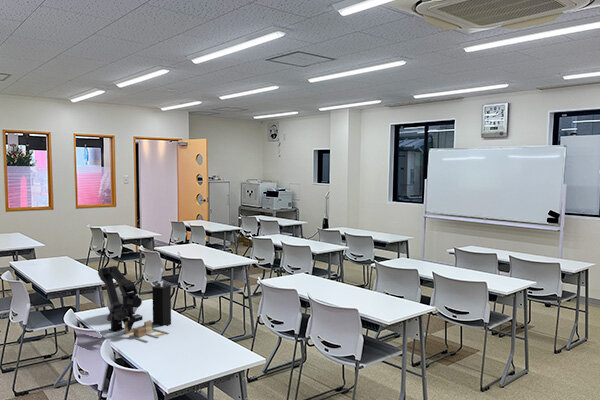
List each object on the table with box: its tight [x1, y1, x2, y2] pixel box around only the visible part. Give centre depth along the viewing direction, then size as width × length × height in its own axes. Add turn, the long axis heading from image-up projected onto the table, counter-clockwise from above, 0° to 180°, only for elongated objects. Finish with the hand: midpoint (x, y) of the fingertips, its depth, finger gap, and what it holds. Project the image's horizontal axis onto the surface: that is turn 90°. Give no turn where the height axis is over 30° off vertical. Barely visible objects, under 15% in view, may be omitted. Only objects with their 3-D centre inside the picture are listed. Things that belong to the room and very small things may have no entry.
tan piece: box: [123, 322, 147, 339], centre depth 260 cm, size 13×5×7 cm, turn 58°
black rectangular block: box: [151, 280, 172, 327], centre depth 279 cm, size 8×8×28 cm
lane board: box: [128, 327, 170, 343], centre depth 260 cm, size 15×16×2 cm
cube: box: [132, 326, 146, 339], centre depth 258 cm, size 4×4×4 cm
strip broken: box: [143, 319, 166, 338], centre depth 263 cm, size 13×5×7 cm, turn 58°
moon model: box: [106, 286, 141, 313], centre depth 296 cm, size 20×20×20 cm
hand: (128, 330), depth 264 cm, fingers closed on tan piece, 2 cm apart
